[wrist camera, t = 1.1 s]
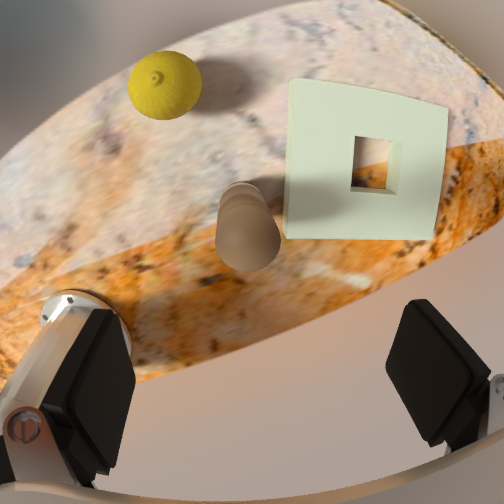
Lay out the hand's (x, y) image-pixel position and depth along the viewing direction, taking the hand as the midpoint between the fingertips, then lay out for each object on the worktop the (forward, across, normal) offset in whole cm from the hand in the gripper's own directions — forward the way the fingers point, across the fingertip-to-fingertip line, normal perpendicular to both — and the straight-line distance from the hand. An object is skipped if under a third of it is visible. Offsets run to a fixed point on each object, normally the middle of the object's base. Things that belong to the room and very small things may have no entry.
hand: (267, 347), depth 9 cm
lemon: (+20, +6, -10) cm, 24 cm away
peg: (+20, 0, 0) cm, 20 cm away
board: (+20, -12, -4) cm, 24 cm away
